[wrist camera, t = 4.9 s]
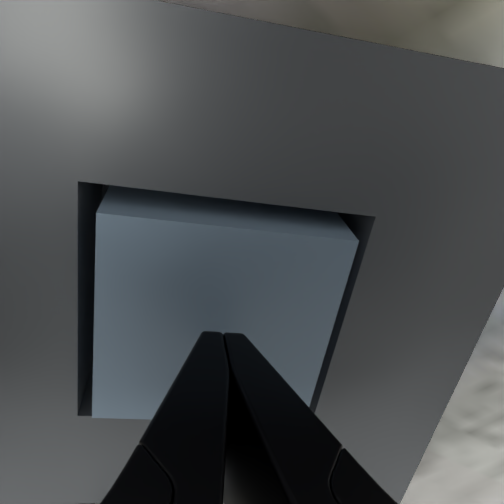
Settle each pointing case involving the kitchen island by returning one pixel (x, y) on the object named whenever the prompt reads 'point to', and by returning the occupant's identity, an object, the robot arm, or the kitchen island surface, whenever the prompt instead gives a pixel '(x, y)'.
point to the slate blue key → (209, 289)
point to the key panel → (244, 189)
